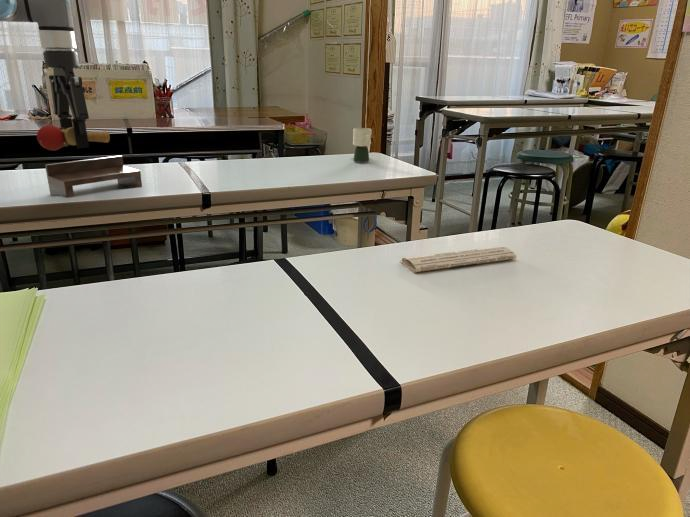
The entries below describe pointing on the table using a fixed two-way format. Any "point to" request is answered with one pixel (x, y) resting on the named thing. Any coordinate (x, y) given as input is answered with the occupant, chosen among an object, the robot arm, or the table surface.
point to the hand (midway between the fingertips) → (76, 145)
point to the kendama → (65, 137)
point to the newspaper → (458, 258)
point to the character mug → (361, 143)
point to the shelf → (89, 174)
